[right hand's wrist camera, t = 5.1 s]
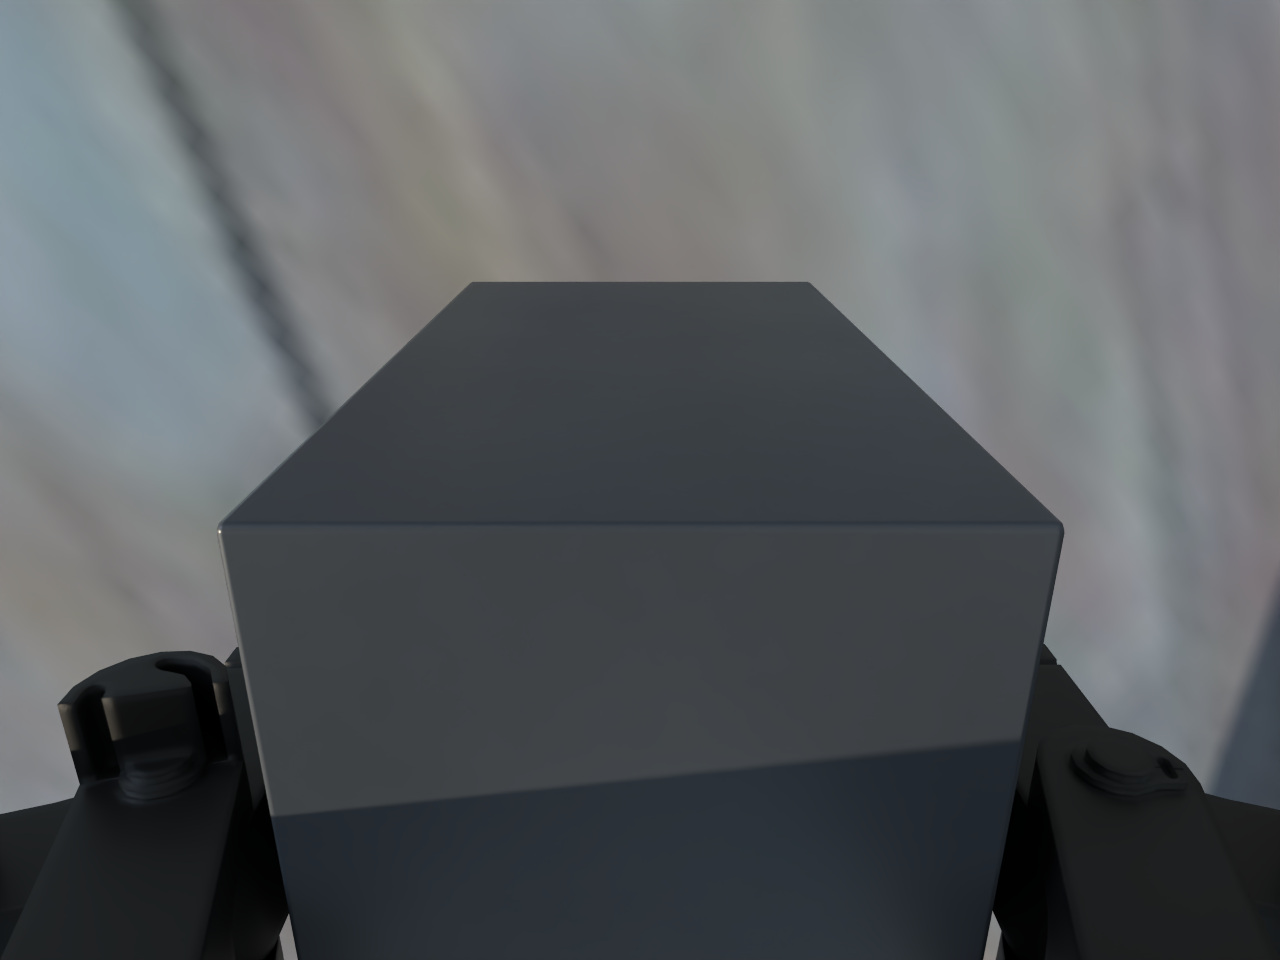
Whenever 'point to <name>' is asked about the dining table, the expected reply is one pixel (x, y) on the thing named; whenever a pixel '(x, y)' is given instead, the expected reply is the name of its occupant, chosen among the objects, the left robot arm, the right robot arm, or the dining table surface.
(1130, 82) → the dining table surface
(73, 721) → the right robot arm
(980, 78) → the dining table surface
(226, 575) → the bar
